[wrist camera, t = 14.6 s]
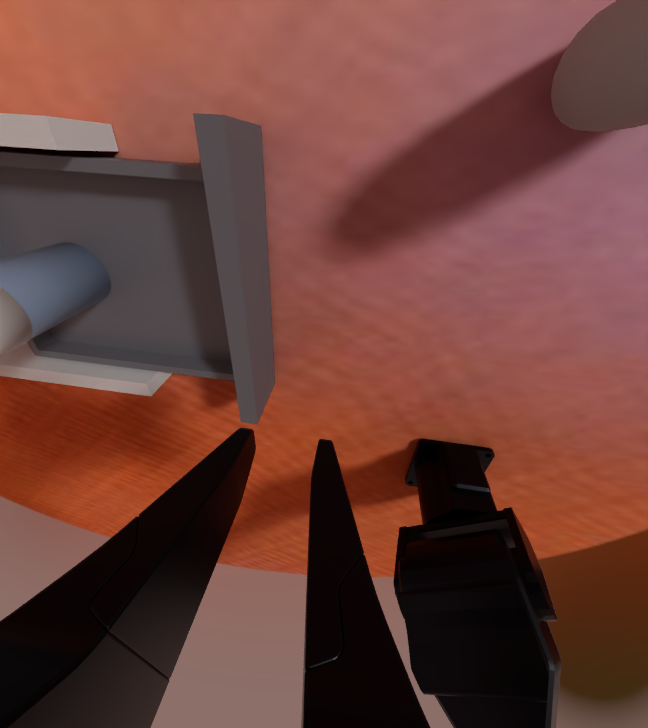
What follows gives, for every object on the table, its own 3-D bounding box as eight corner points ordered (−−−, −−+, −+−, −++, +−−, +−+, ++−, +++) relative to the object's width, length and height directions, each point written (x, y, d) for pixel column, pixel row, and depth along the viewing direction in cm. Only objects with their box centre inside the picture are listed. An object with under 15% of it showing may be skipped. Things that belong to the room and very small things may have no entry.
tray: (261, 125, 15) (223, 115, 11) (275, 383, 25) (257, 424, 21) (-62, 106, 16) (-193, 91, 13) (71, 357, 26) (20, 391, 22)
